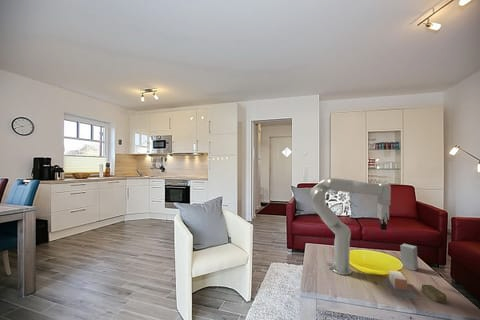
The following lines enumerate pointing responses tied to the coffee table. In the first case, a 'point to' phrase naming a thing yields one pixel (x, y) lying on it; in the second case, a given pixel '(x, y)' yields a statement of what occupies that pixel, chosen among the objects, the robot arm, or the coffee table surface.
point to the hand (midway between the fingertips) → (383, 229)
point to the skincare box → (409, 257)
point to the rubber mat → (401, 291)
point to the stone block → (434, 293)
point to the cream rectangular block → (398, 280)
